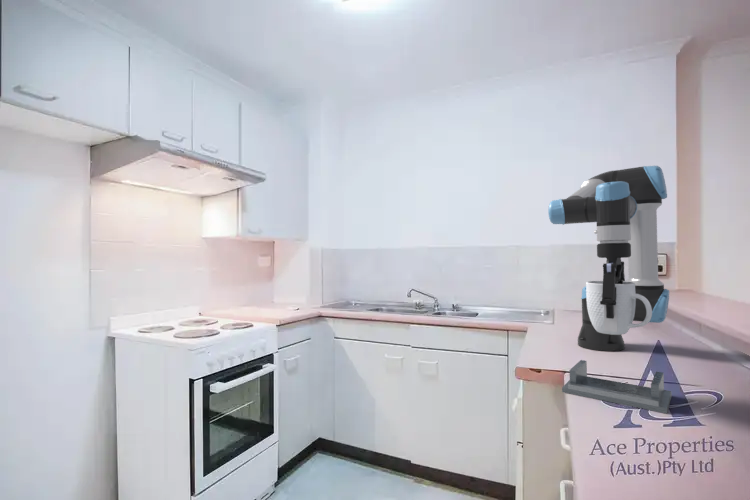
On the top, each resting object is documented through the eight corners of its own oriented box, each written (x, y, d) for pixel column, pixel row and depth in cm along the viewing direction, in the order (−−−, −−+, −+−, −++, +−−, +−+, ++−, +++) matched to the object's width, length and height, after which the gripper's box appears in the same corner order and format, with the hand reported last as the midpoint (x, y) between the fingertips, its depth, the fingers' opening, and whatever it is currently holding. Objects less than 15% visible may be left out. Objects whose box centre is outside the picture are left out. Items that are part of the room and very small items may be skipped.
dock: (575, 378, 112) (574, 359, 112) (671, 396, 98) (671, 373, 98) (562, 392, 102) (561, 370, 102) (666, 413, 88) (666, 388, 88)
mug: (661, 335, 97) (660, 282, 97) (641, 342, 91) (640, 286, 91) (600, 326, 110) (598, 279, 110) (578, 331, 103) (577, 282, 103)
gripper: (606, 242, 112) (608, 318, 113) (586, 243, 95) (588, 333, 95) (637, 241, 108) (639, 321, 108) (622, 242, 90) (624, 337, 90)
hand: (615, 327), depth 101 cm, fingers closed on mug, 11 cm apart
